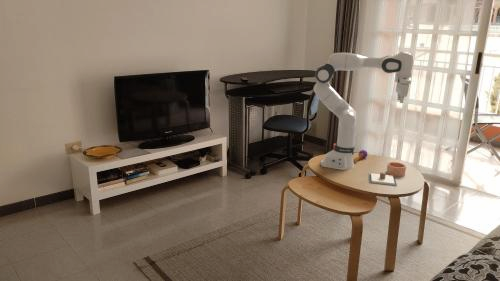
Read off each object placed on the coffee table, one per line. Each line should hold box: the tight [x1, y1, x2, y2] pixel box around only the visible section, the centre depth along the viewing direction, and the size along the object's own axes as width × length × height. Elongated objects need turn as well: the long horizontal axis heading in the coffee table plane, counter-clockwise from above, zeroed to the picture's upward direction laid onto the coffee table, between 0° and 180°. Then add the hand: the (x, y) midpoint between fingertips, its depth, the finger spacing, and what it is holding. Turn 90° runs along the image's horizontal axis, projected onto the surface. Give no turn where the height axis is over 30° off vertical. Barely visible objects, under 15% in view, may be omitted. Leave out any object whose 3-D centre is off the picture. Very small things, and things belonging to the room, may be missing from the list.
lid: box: [370, 171, 395, 186], centre depth 235 cm, size 13×13×4 cm
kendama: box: [353, 149, 368, 165], centre depth 271 cm, size 6×6×20 cm
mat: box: [368, 173, 398, 187], centre depth 236 cm, size 16×16×1 cm
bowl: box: [386, 161, 407, 177], centre depth 247 cm, size 11×11×6 cm
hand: (399, 101), depth 239 cm, fingers open, 8 cm apart
